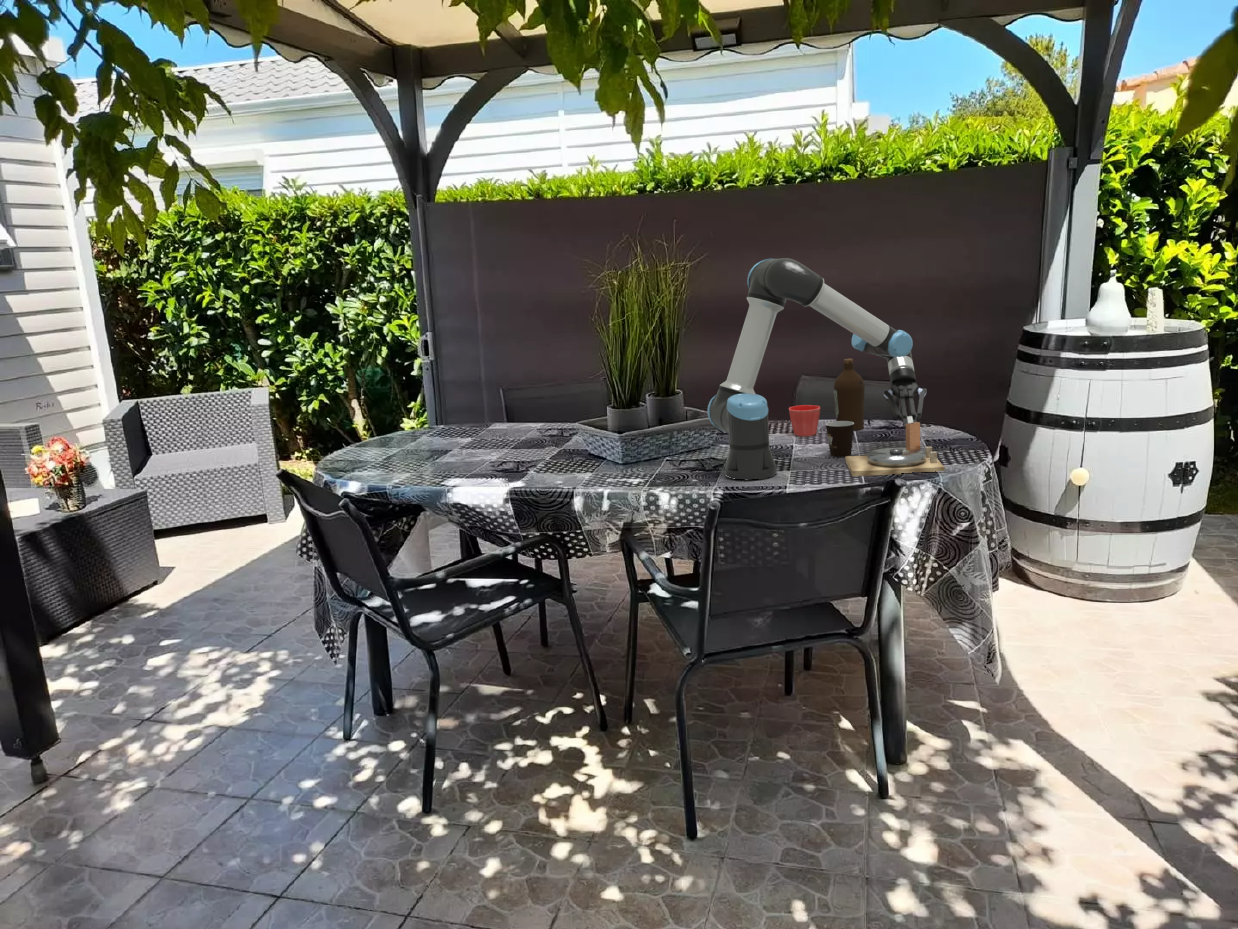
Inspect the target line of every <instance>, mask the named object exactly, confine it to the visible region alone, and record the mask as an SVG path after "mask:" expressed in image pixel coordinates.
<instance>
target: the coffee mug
mask: <svg viewBox="0 0 1238 929" xmlns="http://www.w3.org/2000/svg"><path fill="white" fill-rule="evenodd" d="M825 429H826V434H827V442H828V448H829V455H830V457H832V458H845V456H852V453H853V451H852V450H853V439H854V432H855V431H854V422H850V421H836V420H835V421H830V422H827V423H825Z"/></svg>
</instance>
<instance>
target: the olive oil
mask: <svg viewBox="0 0 1238 929" xmlns="http://www.w3.org/2000/svg"><path fill="white" fill-rule="evenodd" d="M854 364H855V363H854V359H853V358H844V359H843V370H842V372H840V374H839V375H838V376H837V378H836V379H835V380H834V383H833V395H834V396H833V397H834V407H835V408H834V409H835V410H834V411H835V421H850V422H854V431H853V432H856V431H855V430H857V431H861V430H863V429H864V428H865V425H864V424H865V422H864V421H865V418H864V417H865V393H866V392H865V388H866V387H865V386H866V385H865V382H864V379H863V378H862V376H861V375H860V374H859V373H858V372H856V370H854V368H855V367H854Z"/></svg>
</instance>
